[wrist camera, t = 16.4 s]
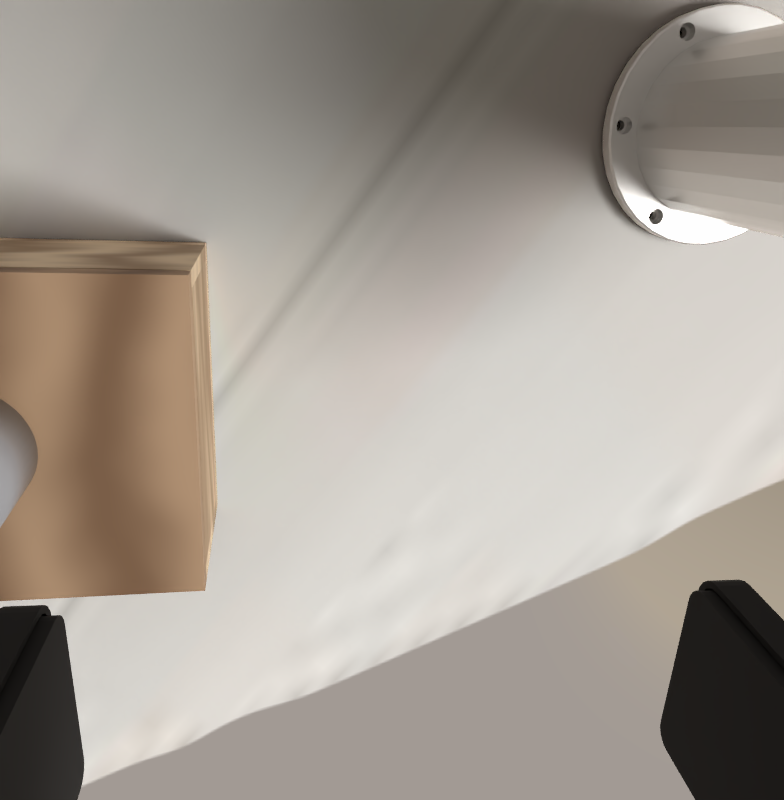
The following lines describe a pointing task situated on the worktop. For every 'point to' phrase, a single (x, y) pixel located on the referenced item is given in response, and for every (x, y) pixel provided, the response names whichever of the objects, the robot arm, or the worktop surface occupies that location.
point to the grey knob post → (14, 458)
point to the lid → (103, 433)
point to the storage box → (144, 258)
